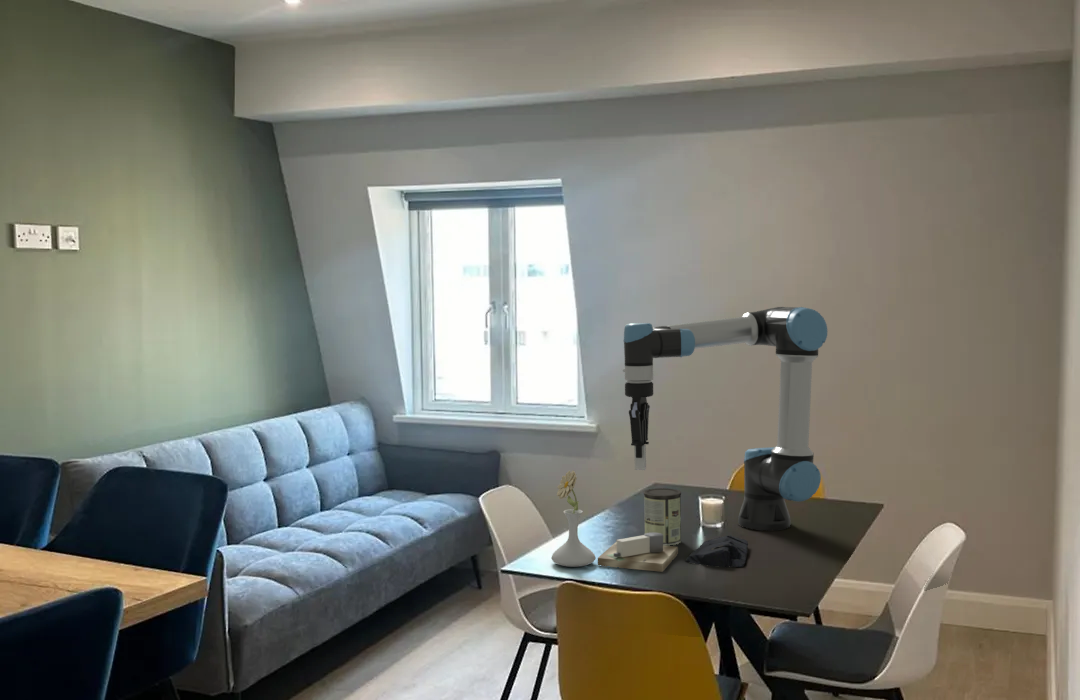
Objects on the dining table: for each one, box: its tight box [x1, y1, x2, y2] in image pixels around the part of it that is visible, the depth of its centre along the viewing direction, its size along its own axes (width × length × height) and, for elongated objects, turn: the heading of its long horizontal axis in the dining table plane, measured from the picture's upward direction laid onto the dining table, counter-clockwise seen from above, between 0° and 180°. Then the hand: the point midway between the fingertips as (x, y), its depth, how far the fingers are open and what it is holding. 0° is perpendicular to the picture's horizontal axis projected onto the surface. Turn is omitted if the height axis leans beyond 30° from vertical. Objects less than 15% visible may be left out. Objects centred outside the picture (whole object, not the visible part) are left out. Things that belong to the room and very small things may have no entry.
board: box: [597, 541, 679, 573], centre depth 260 cm, size 17×18×2 cm
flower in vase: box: [551, 470, 597, 568], centre depth 255 cm, size 13×11×25 cm
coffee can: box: [643, 487, 682, 546], centre depth 278 cm, size 10×10×14 cm
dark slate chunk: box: [685, 535, 749, 568], centre depth 263 cm, size 15×22×5 cm
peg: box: [614, 532, 663, 557], centre depth 258 cm, size 15×5×4 cm, turn 121°
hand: (640, 469), depth 266 cm, fingers closed
